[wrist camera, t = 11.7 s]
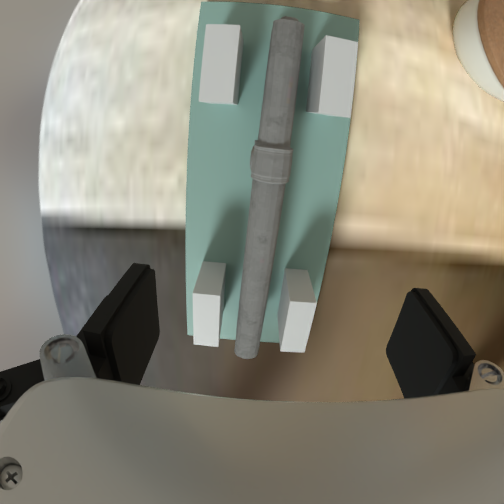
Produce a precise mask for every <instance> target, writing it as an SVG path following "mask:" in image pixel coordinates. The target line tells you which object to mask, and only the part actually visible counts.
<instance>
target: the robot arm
mask: <svg viewBox="0 0 504 504" xmlns="http://www.w3.org/2000/svg"><path fill="white" fill-rule="evenodd" d="M159 332H160V329H159V318H158V307H157V295H156V280H155V271H154V269H150V266H149V265H147V264H138V263H133V264H132V265H131V267H130V268H129V269H128V270H127V272H126V273H125V274H124V275H123V277H122V278H121V279H120V281H119V282H118V283H117V285H116V286H115V287H114V288H113V290H112V291H111V292H110V294H109V295H108V296H106V297H105V298H104V299H103V301H102V302H101V303H100V305H99V306H98V307H97V309H96V310H95V311H94V313H93V314H92V316H91V317H90V318H89V320H88V321H87V322H86V324H85V325H84V327H83V328H82V329H81V331H80V332H79V334H78V335H77V336H73V335H66V334H63V335H57V336H55V337H52V338H50V339H49V340H47V341H46V342H45V343H44V344H43V345H42V347H41V349H40V359H39V360H36V361H33V362H30V363H27V364H23V365H20V366H17V367H14V368H11V369H8V370H5V371H1V372H0V504H504V373H503V371H502V370H501V369H500V368H499V367H498V366H497V365H496V364H494V363H492V362H490V361H487V360H481V361H478V362H476V363H475V365H474V364H473V362H472V361H473V359H474V358H475V356H476V354H475V352H474V351H473V349H472V348H471V346H470V345H469V344H468V342H467V341H466V339H465V338H464V336H463V335H462V334H461V332H460V331H459V330H458V328H457V327H456V325H455V324H454V323H453V321H452V320H451V319H450V317H449V316H448V315H447V313H446V312H445V311H444V310H443V308H442V307H441V306H440V304H439V303H438V302H437V301H436V299H435V298H434V297H433V295H432V294H431V293H430V292H429V290H427V289H421V288H413V289H412V290H411V292H408V293H407V295H406V298H405V301H404V304H403V306H402V309H401V312H400V314H399V317H398V320H397V322H396V325H395V327H394V330H393V332H392V335H391V337H390V340H389V342H388V344H387V348H386V354H387V357H388V359H389V362H390V364H391V366H392V369H393V371H394V374H395V376H396V378H397V381H398V383H399V386H400V388H401V391H402V393H403V396H404V398H405V399H393V400H378V401H357V402H288V401H267V400H251V399H239V398H228V397H218V396H209V395H201V394H193V393H186V392H179V391H173V390H166V389H160V388H155V387H148V386H142V385H140V383H141V380H142V378H143V375H144V373H145V370H146V368H147V365H148V363H149V360H150V358H151V355H152V353H153V351H154V348H155V346H156V343H157V341H158V338H159Z"/></svg>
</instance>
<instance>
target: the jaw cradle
mask: <svg viewBox="0 0 504 504" xmlns="http://www.w3.org/2000/svg"><path fill="white" fill-rule="evenodd" d="M284 16H287V17H295V18H296V19H298V21H299V22H301V23H303V24H304V25H305V27H304V36H303V45H302V54H301V63H300V72H299V80H298V88H297V96H296V105H295V113H294V120H293V128H292V136H291V143H290V147H291V148H292V149H293V155H292V166H291V173H290V177H289V182H287V183H286V185H285V192H284V199H283V205H282V212H281V218H280V225H279V231H278V238H277V244H276V250H275V256H274V262H273V269H272V275H271V281H270V287H269V293H268V299H267V305H266V310H265V316H264V322H263V328H262V333H261V339H260V342H275V343H280V351H282V352H305V348H306V345H307V341H308V337H309V333H310V329H311V325H312V321H313V317H314V313H315V309H316V305H317V300H318V296H319V292H320V287H321V283H322V279H323V274H324V269H325V265H326V260H327V255H328V251H329V246H330V241H331V236H332V231H333V225H334V220H335V215H336V209H337V204H338V198H339V192H340V186H341V180H342V174H343V168H344V162H345V155H346V148H347V141H348V134H349V126H350V118H351V110H352V102H353V93H354V83H355V73H356V62H357V50H358V36H359V20H357V19H353V18H349V17H345V16H340V15H336V14H331V13H326V12H321V11H315V10H309V9H303V8H296V7H288V6H280V5H271V4H259V3H244V2H201V8H200V15H199V23H198V31H197V40H196V49H195V59H194V69H193V80H192V93H191V106H190V121H189V138H188V158H187V187H186V301H187V329H188V335H193V336H194V344H196V345H205V346H215V347H218V346H219V339H220V338H222V339H233V340H236V328H237V318H238V309H239V299H240V290H241V280H242V271H243V261H244V252H245V243H246V234H247V224H248V215H249V206H250V197H251V188H252V179H253V178H251V169H250V156H251V150H252V148H253V146H254V144H255V140H257V139H258V134H259V126H260V118H261V110H262V102H263V94H264V86H265V78H266V70H267V62H268V54H269V46H270V38H271V31H272V27H273V21H274V20H278V19H281V18H282V17H284Z"/></svg>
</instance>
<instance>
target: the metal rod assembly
mask: <svg viewBox="0 0 504 504" xmlns="http://www.w3.org/2000/svg"><path fill="white" fill-rule="evenodd" d="M304 27H305V25H304V24H303V23H301V22H299V21H298V19H296V18H295V17H287V16H284V17H282V18H281V19H278V20H274V21H273V27H272V31H271V38H270V46H269V54H268V62H267V70H266V78H265V86H264V94H263V102H262V110H261V118H260V126H259V134H258V139H257V140H255V144H254V146H253V148H252V150H251V156H250V169H251V178H253V179H252V188H251V197H250V206H249V215H248V224H247V234H246V243H245V252H244V261H243V271H242V280H241V290H240V299H239V309H238V318H237V328H236V341H235V354H236V355H237V356H238V357H241V358H243V359H251V358H255V357H256V356H257V354H258V350H259V345H260V339H261V333H262V328H263V322H264V316H265V310H266V305H267V299H268V293H269V287H270V281H271V275H272V269H273V262H274V256H275V250H276V244H277V238H278V231H279V225H280V218H281V212H282V205H283V199H284V192H285V185H286V183H287V182H289V177H290V173H291V166H292V155H293V149H292V148H291V147H290V143H291V136H292V128H293V120H294V113H295V105H296V96H297V88H298V80H299V72H300V63H301V54H302V45H303V36H304Z"/></svg>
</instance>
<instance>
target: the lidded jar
mask: <svg viewBox="0 0 504 504" xmlns="http://www.w3.org/2000/svg"><path fill="white" fill-rule="evenodd" d="M453 40H454V47H455V51H456V54H457V57H458V59H459V61H460V63H461V64H462V66H463V68H464V69H465V71H466V72H467V74H468V75H469V76H470V78H471V79H472V80H473V81H474V82H475V83H476V84H477V85H478V86H479V87H480V88H481V89H482V90H484V91H485V92H486V93H488V94H489V95H491V96H493V97H494V98H496V99H499V100H501V101H503V102H504V0H468V1H467V2H466V3H465V4H463V5H462V7H461V8H460V9H459V11H458V13H457V15H456V17H455V21H454V26H453Z"/></svg>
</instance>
